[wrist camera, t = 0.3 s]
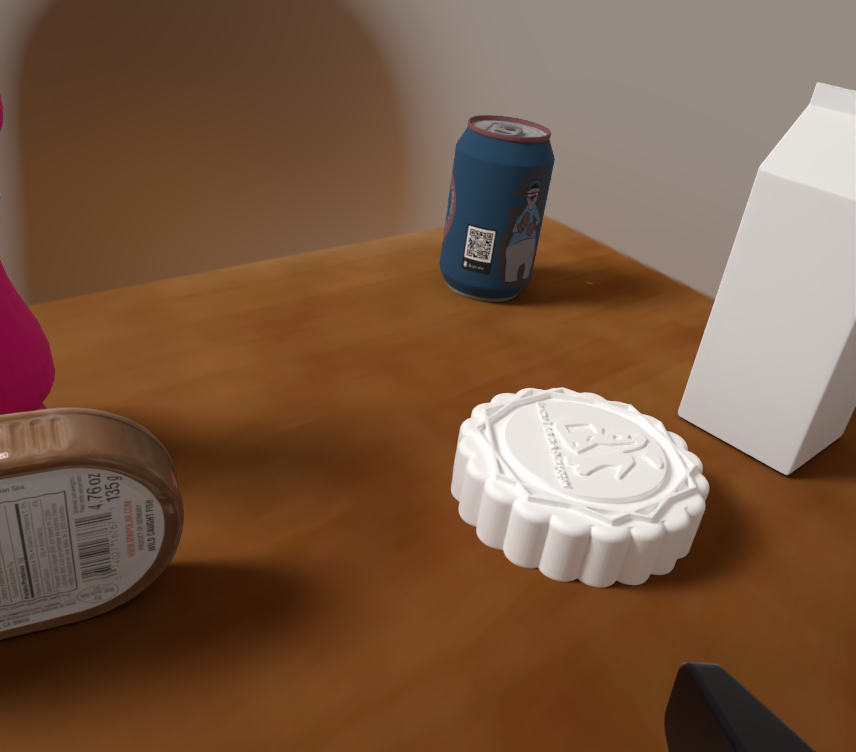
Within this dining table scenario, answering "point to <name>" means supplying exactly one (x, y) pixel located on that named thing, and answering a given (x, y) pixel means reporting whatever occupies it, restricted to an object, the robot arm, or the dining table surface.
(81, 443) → the tin
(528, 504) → the mooncake
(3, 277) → the pepper mill
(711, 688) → the robot arm
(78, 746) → the dining table surface
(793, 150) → the milk carton
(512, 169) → the soda can
